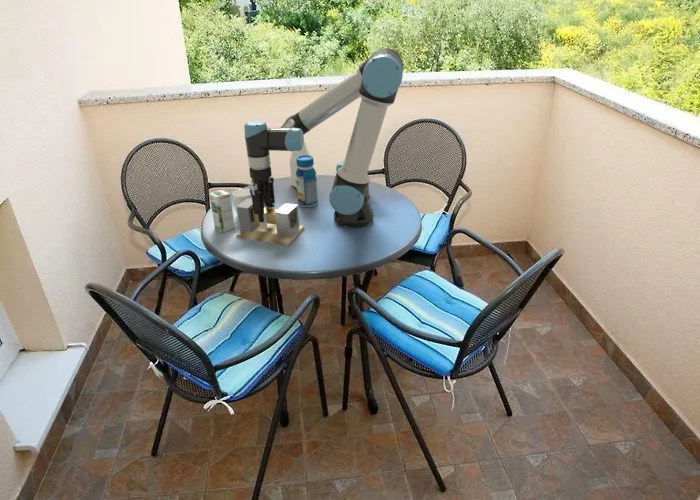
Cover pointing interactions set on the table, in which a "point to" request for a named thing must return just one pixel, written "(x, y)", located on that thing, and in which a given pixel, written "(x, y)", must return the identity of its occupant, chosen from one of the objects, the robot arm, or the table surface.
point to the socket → (246, 216)
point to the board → (268, 235)
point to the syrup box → (222, 210)
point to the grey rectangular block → (287, 220)
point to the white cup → (240, 197)
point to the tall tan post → (269, 215)
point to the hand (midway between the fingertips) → (266, 226)
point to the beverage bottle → (306, 181)
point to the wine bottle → (294, 163)
